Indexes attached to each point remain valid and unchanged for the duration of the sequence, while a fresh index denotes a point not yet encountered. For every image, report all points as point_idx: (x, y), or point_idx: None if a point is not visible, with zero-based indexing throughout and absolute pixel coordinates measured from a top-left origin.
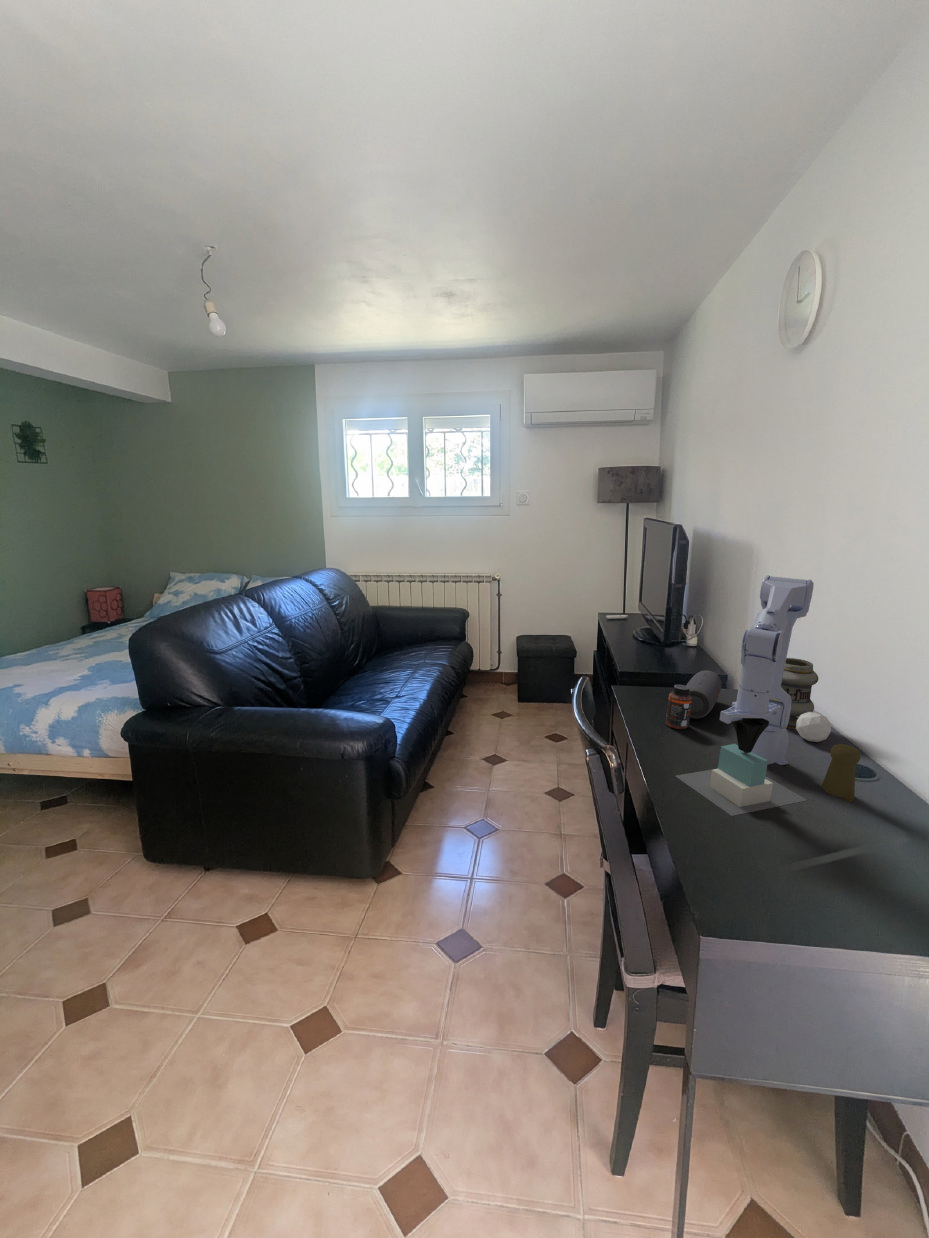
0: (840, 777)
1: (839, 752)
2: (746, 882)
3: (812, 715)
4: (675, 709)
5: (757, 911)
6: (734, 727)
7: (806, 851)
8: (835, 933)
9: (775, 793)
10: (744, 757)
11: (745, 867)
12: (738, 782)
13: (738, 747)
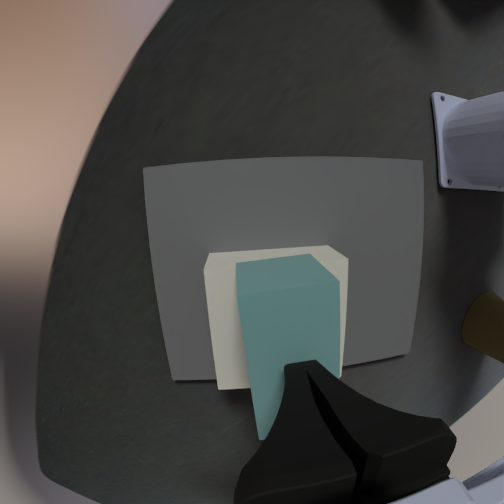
0: (496, 355)
1: None
2: (105, 467)
3: None
4: None
5: (96, 486)
6: (268, 434)
7: (249, 459)
8: None
9: (371, 319)
10: (263, 403)
11: (118, 456)
12: (235, 360)
13: (285, 368)
